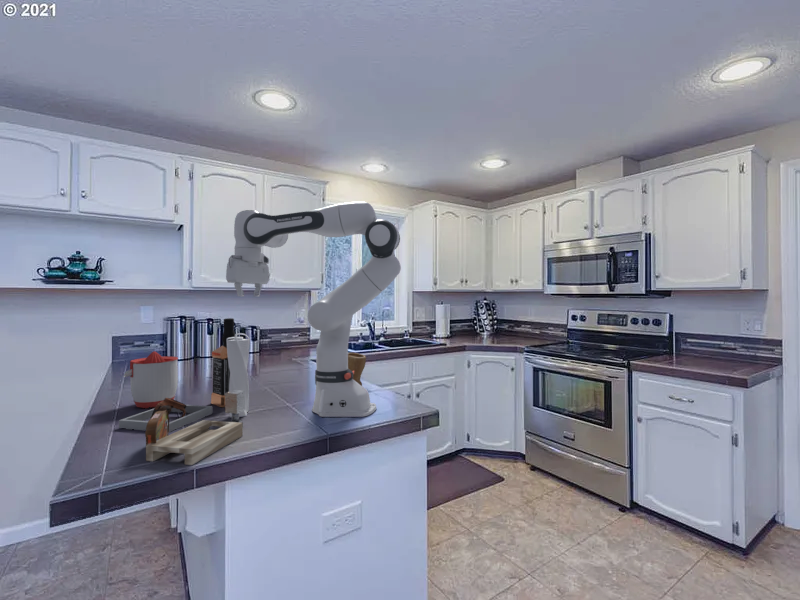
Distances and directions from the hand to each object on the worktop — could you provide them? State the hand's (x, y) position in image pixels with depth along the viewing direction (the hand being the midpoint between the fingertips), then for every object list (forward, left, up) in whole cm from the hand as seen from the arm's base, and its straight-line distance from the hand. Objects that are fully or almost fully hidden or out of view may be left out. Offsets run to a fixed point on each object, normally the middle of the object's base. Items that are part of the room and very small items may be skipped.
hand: (248, 296), depth 138 cm
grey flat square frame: (+20, +16, -40) cm, 47 cm away
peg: (-6, +18, -40) cm, 44 cm away
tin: (+4, +36, -40) cm, 54 cm away
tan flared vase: (-23, -41, -41) cm, 62 cm away
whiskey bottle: (+14, -7, -40) cm, 43 cm away
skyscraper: (+1, +6, -40) cm, 41 cm away
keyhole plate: (-6, +34, -40) cm, 53 cm away
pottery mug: (+20, +16, -41) cm, 48 cm away
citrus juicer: (+41, +1, -41) cm, 57 cm away
